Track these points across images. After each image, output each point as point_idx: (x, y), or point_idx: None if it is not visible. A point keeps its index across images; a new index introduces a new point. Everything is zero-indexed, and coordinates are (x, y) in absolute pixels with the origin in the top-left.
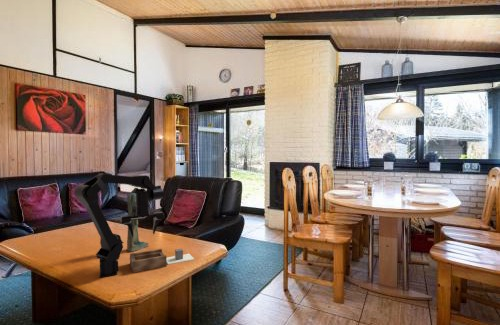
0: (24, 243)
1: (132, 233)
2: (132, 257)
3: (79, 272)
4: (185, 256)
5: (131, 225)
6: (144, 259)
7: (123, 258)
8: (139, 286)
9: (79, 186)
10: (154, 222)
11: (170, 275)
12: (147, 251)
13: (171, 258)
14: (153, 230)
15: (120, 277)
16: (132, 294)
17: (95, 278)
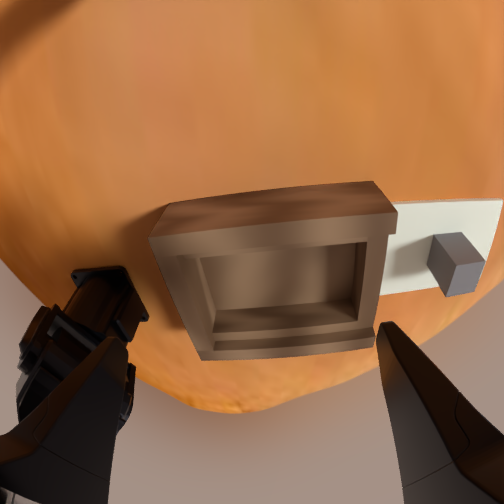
0: None
1: (116, 401)
2: (186, 311)
3: (9, 238)
4: (474, 235)
5: (104, 499)
6: (259, 355)
7: (108, 91)
8: (246, 394)
9: None
10: (422, 498)
11: (344, 370)
12: (282, 238)
13: (416, 233)
14: (387, 390)
15: (171, 338)
16: (233, 409)
17: None
